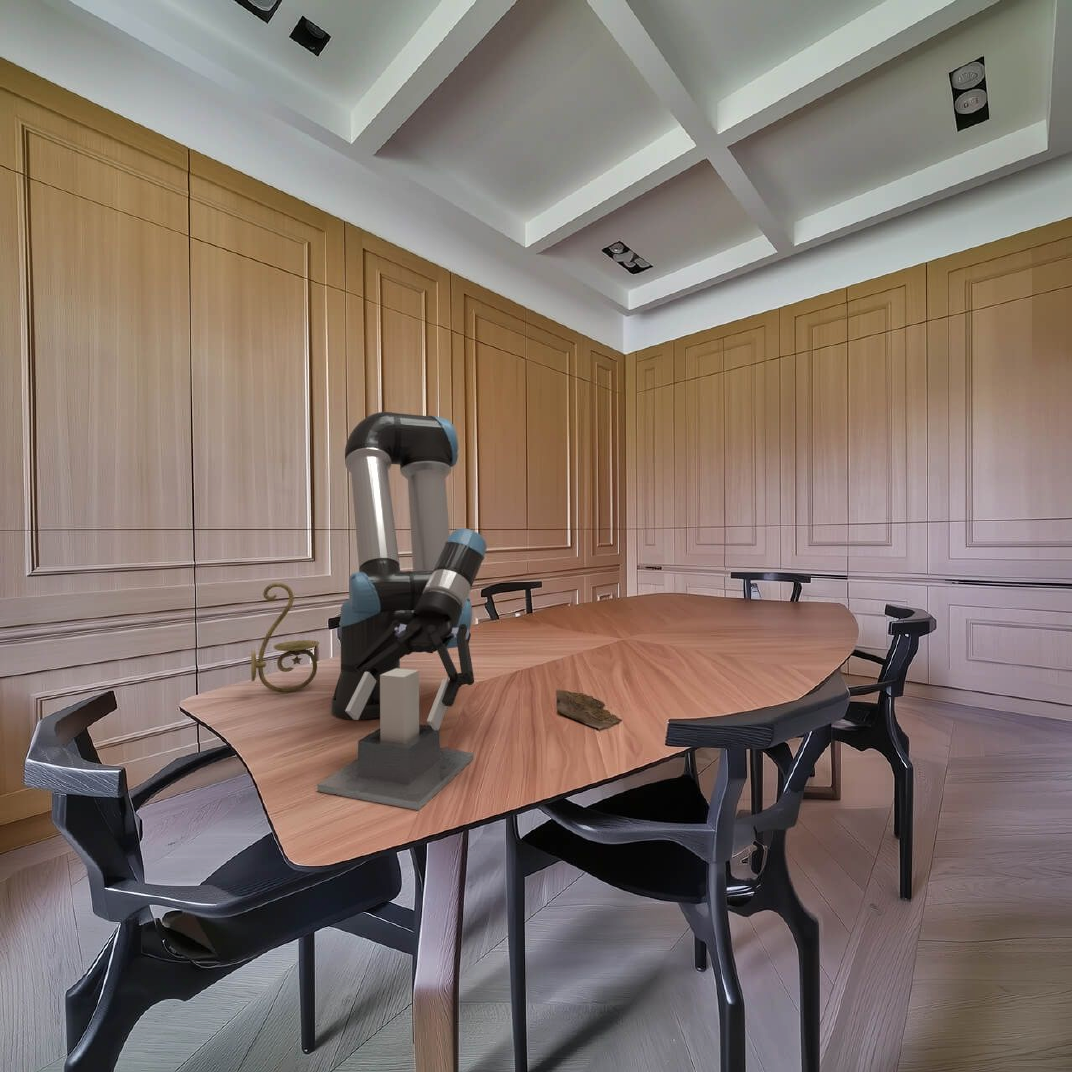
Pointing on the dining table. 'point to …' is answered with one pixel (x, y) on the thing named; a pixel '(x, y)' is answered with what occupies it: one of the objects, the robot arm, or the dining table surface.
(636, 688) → the dining table surface
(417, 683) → the rail post
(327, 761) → the dining table surface
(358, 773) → the square post socket
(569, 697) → the wooden fragment
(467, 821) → the dining table surface
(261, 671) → the wall sconce
